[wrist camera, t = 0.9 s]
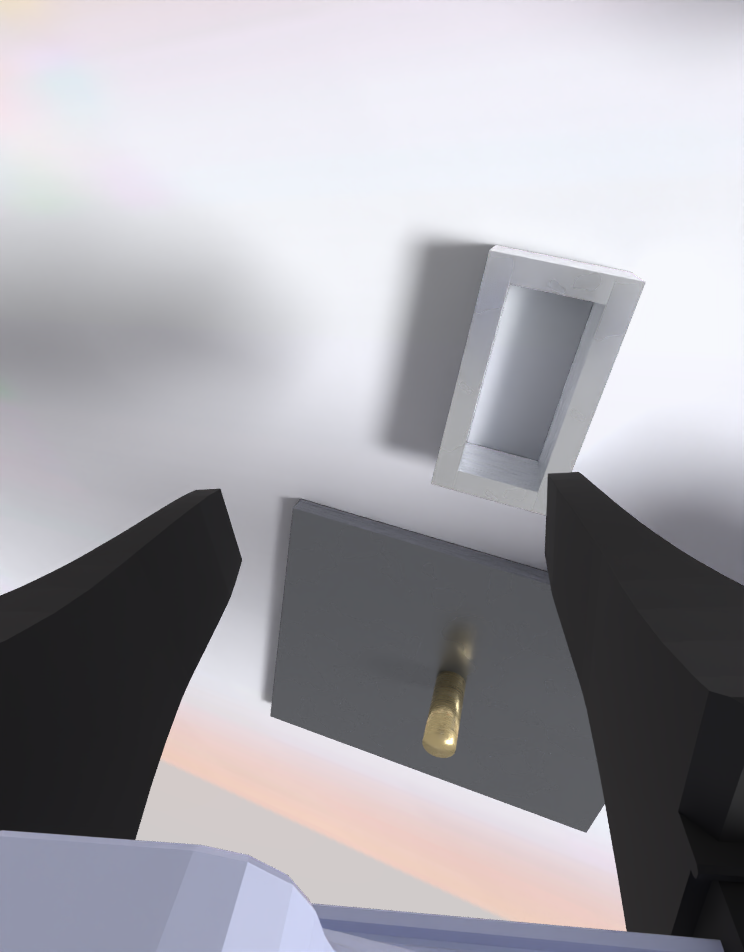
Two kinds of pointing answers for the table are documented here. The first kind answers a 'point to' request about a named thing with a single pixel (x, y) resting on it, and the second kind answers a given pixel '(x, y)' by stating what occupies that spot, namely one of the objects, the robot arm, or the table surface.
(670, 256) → the table surface
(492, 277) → the link
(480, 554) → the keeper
